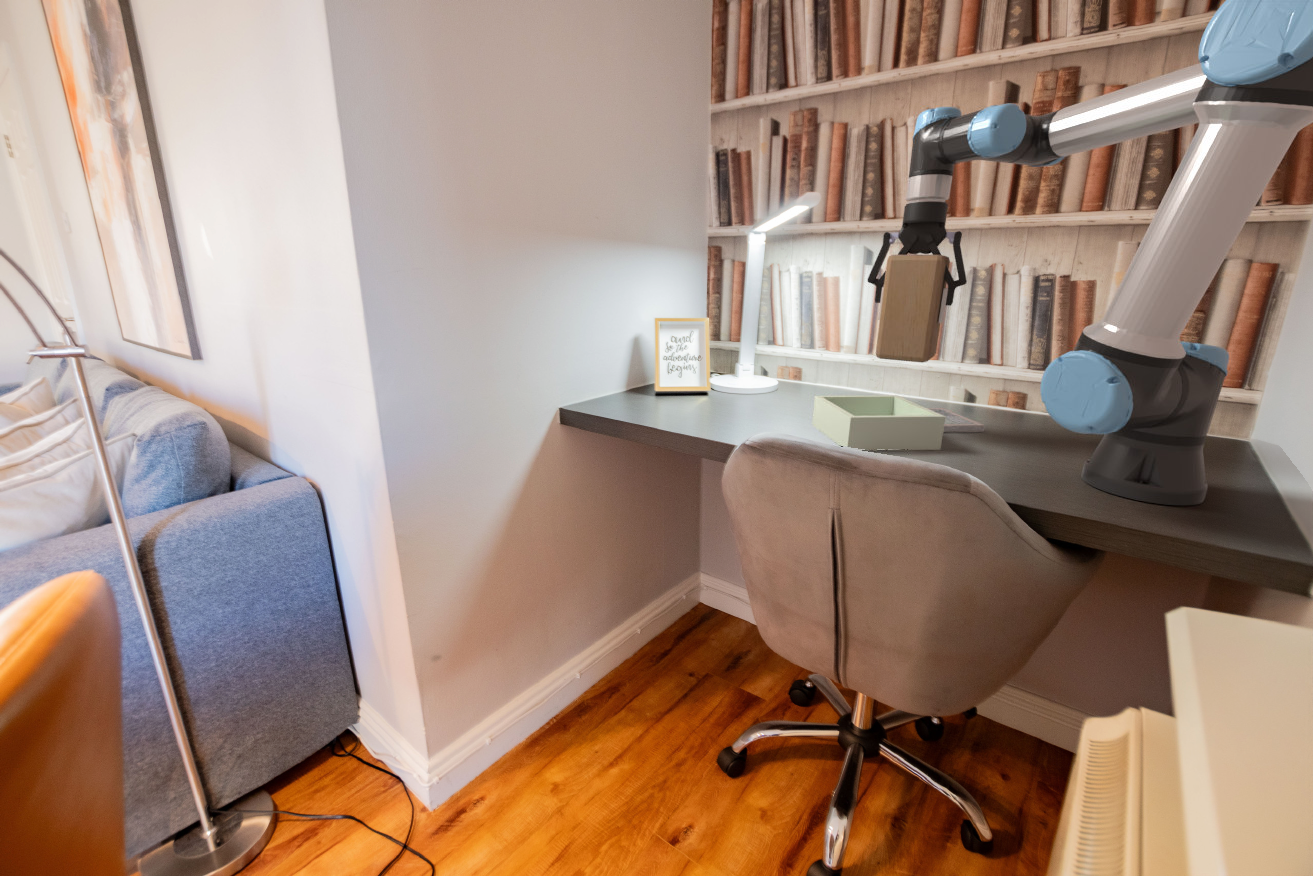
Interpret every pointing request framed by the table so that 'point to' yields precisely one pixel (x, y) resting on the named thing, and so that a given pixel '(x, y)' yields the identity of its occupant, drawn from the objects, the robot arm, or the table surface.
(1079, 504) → the table surface
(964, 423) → the socket frame
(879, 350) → the block
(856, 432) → the bin
